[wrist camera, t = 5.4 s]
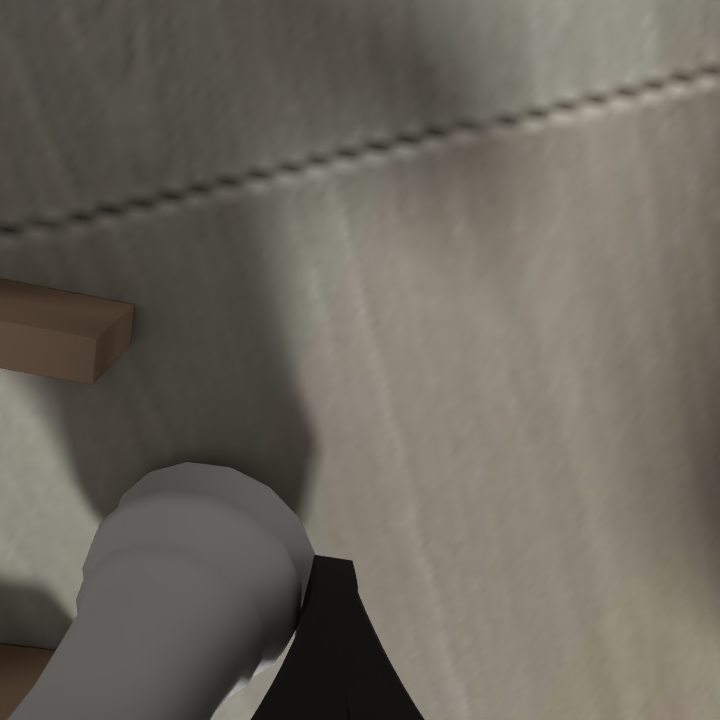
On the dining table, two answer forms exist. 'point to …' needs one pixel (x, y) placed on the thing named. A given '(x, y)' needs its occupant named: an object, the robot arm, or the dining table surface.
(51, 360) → the bay
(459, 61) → the dining table surface
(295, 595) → the rook chess piece
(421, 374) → the dining table surface
